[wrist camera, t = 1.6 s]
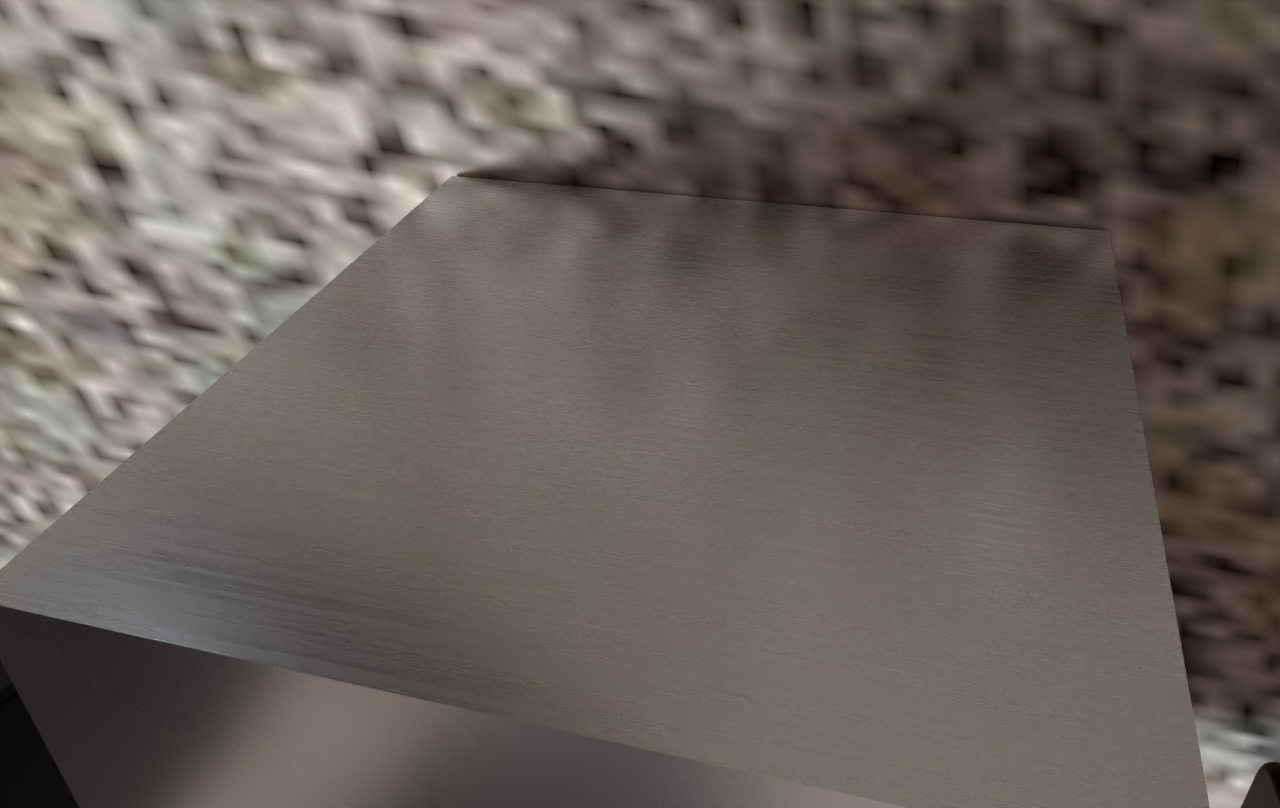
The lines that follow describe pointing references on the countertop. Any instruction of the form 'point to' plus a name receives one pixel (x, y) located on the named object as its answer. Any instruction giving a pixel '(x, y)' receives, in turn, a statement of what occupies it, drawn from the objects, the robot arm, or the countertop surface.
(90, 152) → the countertop surface
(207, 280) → the countertop surface
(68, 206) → the countertop surface
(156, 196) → the countertop surface
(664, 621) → the brushed metal cube
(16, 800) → the robot arm
